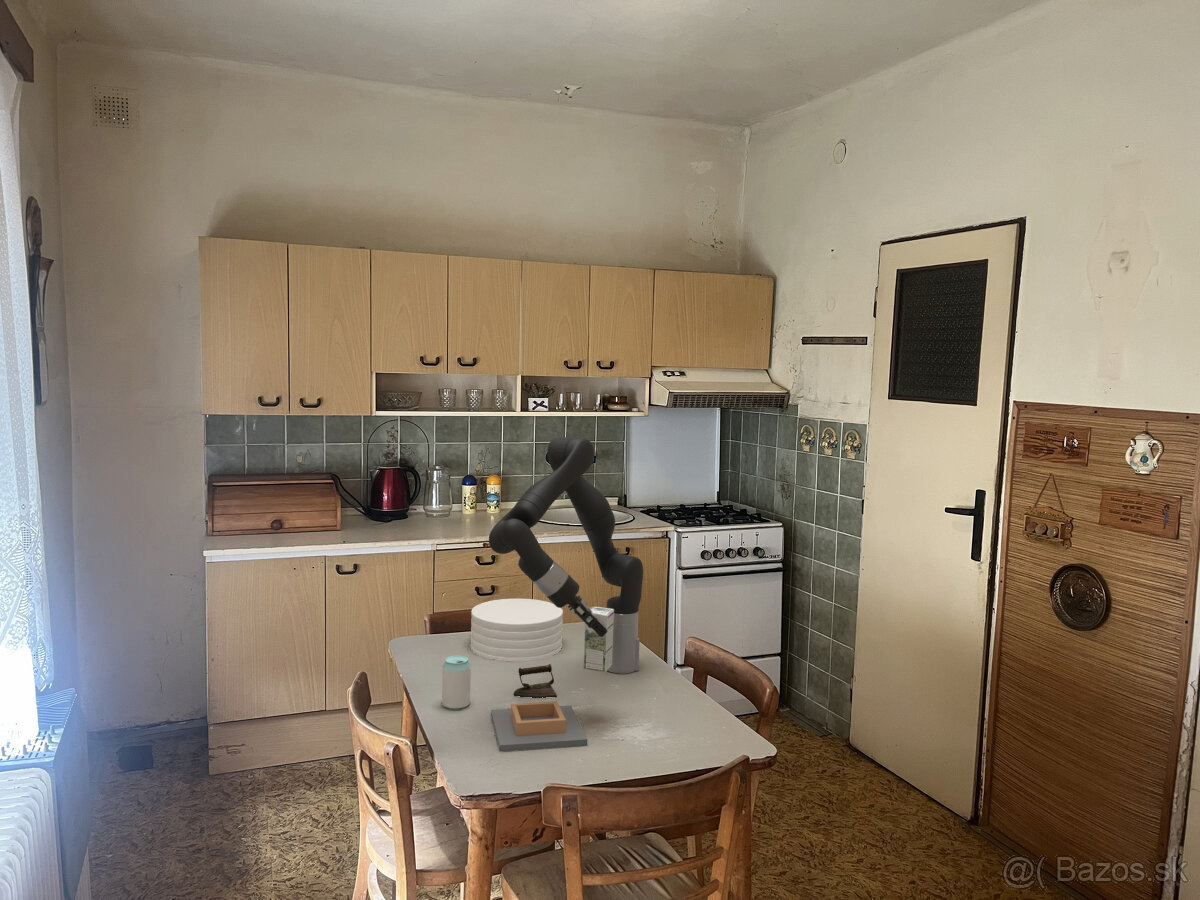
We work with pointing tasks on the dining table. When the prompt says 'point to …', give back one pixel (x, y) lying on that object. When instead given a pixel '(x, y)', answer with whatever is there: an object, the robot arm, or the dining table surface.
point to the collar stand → (537, 726)
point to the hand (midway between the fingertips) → (600, 628)
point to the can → (456, 682)
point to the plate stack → (516, 629)
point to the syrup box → (599, 641)
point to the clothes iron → (536, 689)
